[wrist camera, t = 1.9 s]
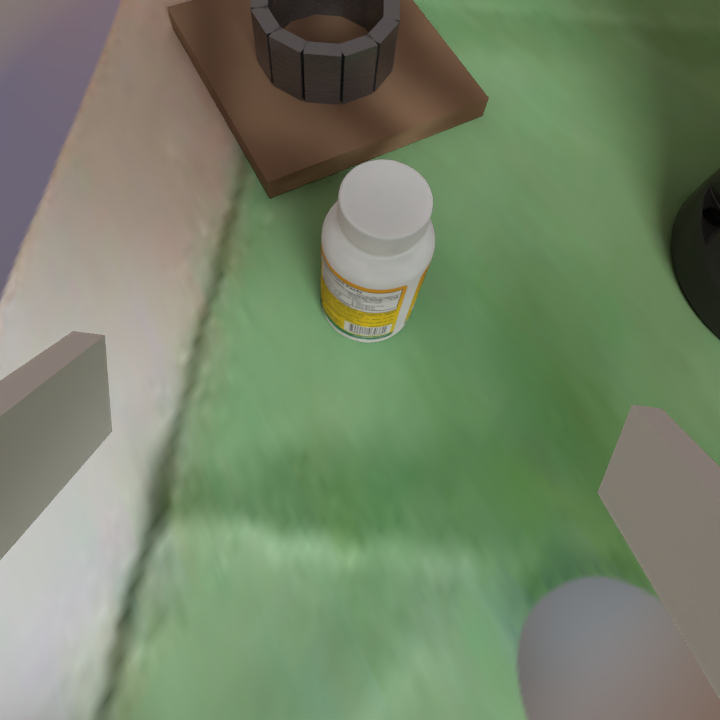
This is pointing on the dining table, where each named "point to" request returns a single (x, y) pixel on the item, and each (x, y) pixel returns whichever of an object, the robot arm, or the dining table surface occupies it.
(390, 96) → the board
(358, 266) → the supplement bottle
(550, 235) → the dining table surface
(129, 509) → the dining table surface
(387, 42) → the collar
